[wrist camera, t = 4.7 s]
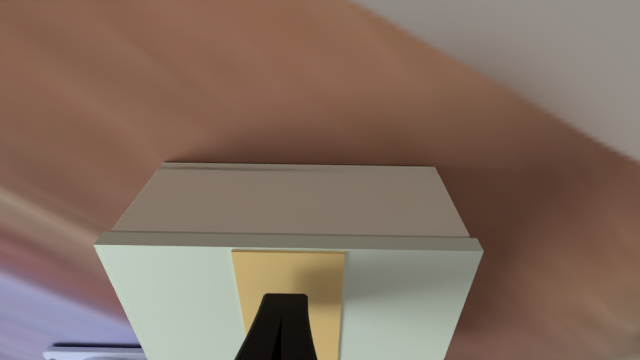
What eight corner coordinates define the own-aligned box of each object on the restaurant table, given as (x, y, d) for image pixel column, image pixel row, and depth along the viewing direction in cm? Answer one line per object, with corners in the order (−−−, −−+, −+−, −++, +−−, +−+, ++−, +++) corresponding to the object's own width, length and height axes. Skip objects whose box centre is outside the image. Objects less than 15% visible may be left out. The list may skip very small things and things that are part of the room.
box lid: (416, 413, 19) (419, 428, 18) (181, 408, 19) (176, 423, 18) (476, 238, 12) (485, 254, 11) (103, 232, 12) (91, 247, 11)
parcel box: (398, 332, 22) (413, 410, 18) (207, 328, 22) (183, 406, 18) (434, 166, 16) (469, 236, 12) (162, 162, 16) (110, 229, 12)
